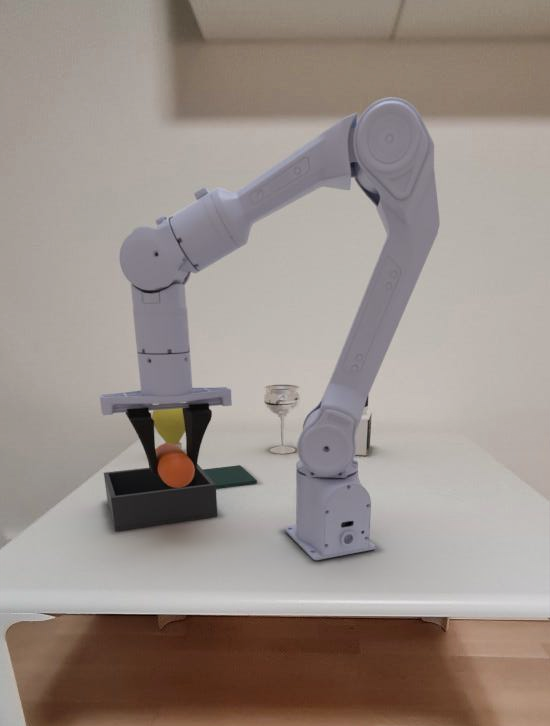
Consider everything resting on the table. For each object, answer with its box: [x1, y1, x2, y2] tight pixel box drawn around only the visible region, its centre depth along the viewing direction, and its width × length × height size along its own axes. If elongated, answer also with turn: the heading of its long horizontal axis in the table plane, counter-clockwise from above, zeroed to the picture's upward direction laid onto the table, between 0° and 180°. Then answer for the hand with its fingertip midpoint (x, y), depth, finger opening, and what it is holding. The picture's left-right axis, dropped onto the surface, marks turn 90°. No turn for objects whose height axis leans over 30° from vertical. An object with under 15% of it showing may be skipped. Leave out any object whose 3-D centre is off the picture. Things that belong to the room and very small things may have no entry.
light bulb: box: [151, 403, 186, 449], centre depth 100 cm, size 7×7×10 cm
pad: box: [202, 464, 258, 489], centre depth 88 cm, size 9×10×1 cm
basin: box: [103, 463, 218, 532], centre depth 75 cm, size 11×13×4 cm
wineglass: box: [263, 384, 301, 455], centre depth 103 cm, size 7×7×12 cm
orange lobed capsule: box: [155, 442, 195, 488], centre depth 65 cm, size 9×4×4 cm, turn 23°
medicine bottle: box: [355, 393, 373, 457], centre depth 103 cm, size 7×7×12 cm
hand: (173, 469), depth 65 cm, fingers closed on orange lobed capsule, 4 cm apart
